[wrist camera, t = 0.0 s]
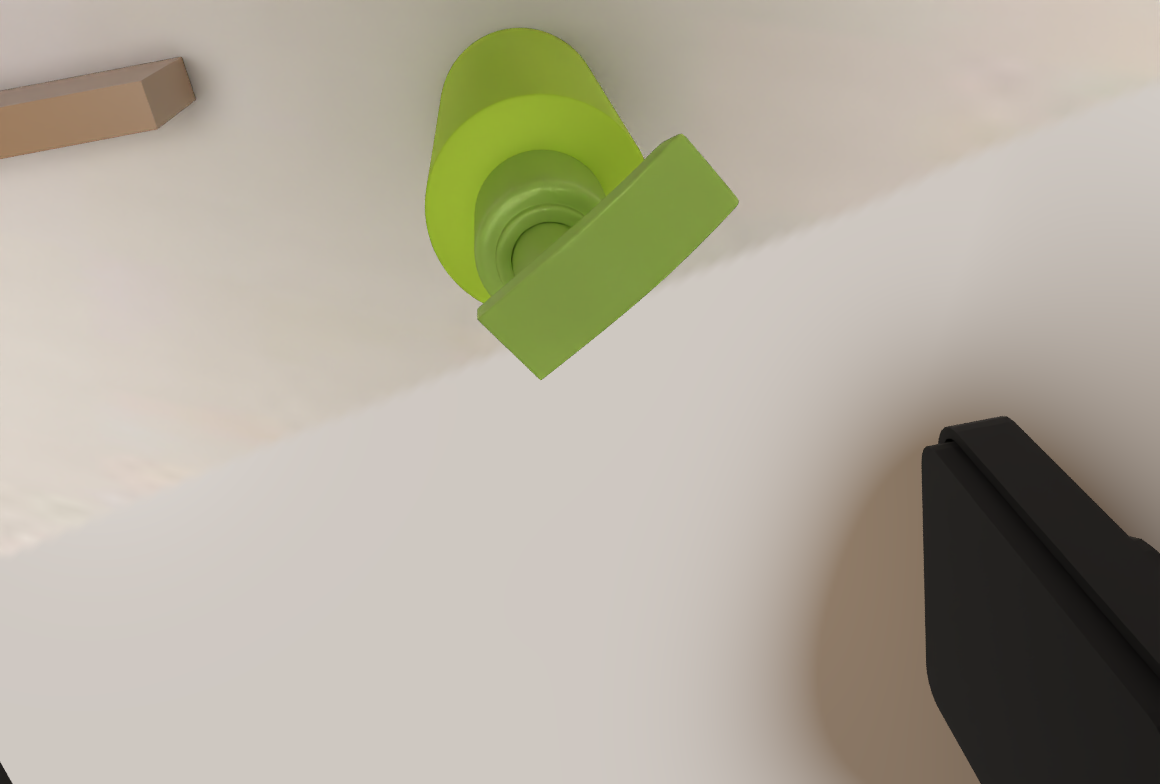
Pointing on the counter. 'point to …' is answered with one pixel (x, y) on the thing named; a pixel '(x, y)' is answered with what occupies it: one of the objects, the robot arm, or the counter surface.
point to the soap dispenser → (555, 197)
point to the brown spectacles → (92, 107)
